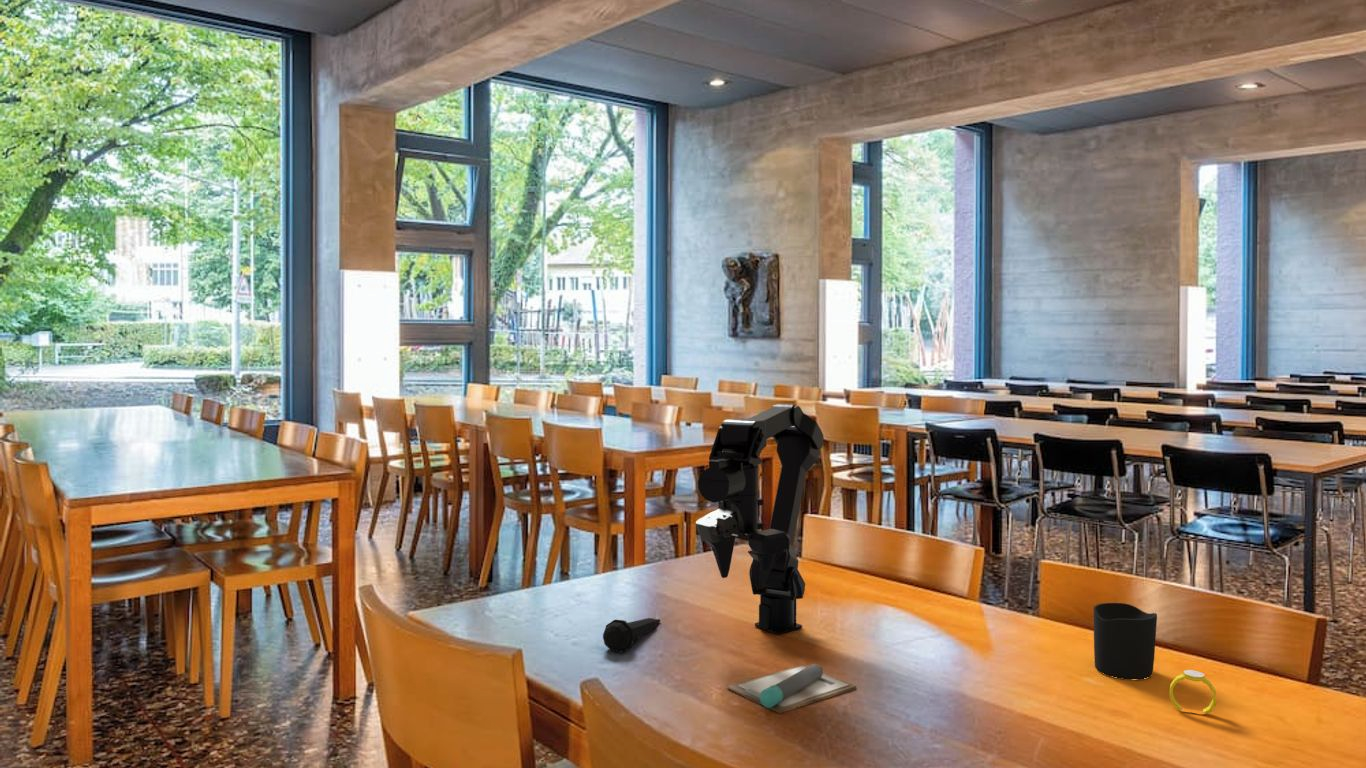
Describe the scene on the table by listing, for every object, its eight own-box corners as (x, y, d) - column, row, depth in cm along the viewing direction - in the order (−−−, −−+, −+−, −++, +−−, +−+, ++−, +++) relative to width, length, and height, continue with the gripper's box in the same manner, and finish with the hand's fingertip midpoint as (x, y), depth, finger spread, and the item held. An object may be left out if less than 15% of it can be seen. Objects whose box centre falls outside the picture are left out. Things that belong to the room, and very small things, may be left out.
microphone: (649, 638, 189) (601, 659, 171) (642, 608, 190) (593, 625, 172) (675, 632, 187) (629, 652, 169) (668, 602, 188) (621, 618, 170)
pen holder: (1151, 665, 165) (1153, 605, 164) (1158, 684, 156) (1160, 622, 155) (1090, 659, 168) (1091, 600, 167) (1093, 678, 159) (1095, 616, 158)
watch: (1213, 714, 145) (1218, 674, 144) (1214, 721, 143) (1219, 681, 142) (1167, 704, 148) (1172, 665, 147) (1167, 711, 145) (1172, 671, 145)
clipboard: (802, 667, 164) (802, 661, 164) (856, 688, 155) (856, 682, 155) (727, 689, 155) (727, 683, 155) (779, 713, 145) (779, 707, 145)
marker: (810, 668, 159) (818, 657, 158) (821, 680, 158) (830, 669, 157) (756, 698, 147) (765, 686, 146) (768, 711, 146) (777, 699, 145)
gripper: (671, 490, 173) (671, 579, 174) (740, 506, 158) (740, 603, 159) (721, 484, 180) (721, 569, 181) (792, 498, 165) (791, 591, 166)
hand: (741, 583), depth 171 cm, fingers open, 9 cm apart
